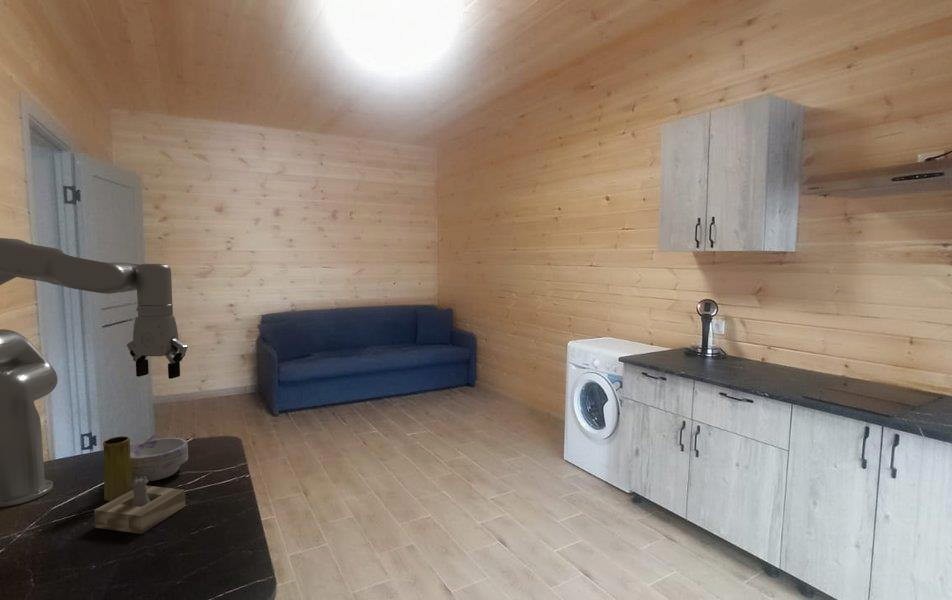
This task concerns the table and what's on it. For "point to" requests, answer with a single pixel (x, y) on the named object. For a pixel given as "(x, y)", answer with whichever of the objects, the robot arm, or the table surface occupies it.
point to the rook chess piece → (140, 492)
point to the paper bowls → (158, 458)
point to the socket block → (139, 510)
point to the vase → (117, 467)
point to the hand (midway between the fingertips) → (158, 376)
